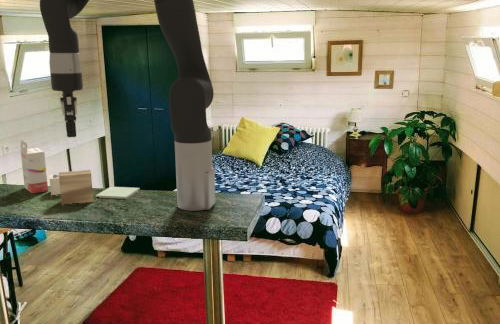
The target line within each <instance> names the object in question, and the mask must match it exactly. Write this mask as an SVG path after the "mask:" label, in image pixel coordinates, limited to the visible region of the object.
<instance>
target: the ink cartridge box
mask: <svg viewBox="0 0 500 324" xmlns="http://www.w3.org/2000/svg"><path fill="white" fill-rule="evenodd" d="M45 155H46V154H45V151H44V150H41V149H40V148H38V147H32V148H28V143H27V142H26V141H25V140H22V139H20V157H21V166H22V176H23V185H24V188H25V189H26V190H27V191H28V192H29V193H30V194H36V193H37V194H38V193H45V192H48V191H49V186H48V185H49V184H48V177H47V175H48V174H47V167H46V166H47V165H46V156H45Z"/></svg>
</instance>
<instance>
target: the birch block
mask: <svg viewBox="0 0 500 324" xmlns="http://www.w3.org/2000/svg"><path fill="white" fill-rule="evenodd" d="M58 174H59V183H60V193H61V195H60V201H61V206H65V205H64V204H70V205H72V204H71V203H79V204H85V203H86V202H87V203H93V202H94V193H93V191H94V189H93V181H92V180H93V179H92V178H93V177H92V171H91V169H85V170H84V169H83V170H72V171H63V172H62V171H61V172H58Z"/></svg>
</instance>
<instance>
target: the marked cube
mask: <svg viewBox="0 0 500 324" xmlns="http://www.w3.org/2000/svg"><path fill="white" fill-rule="evenodd" d="M49 186H50V196H51V197H53V196H52V195H56V196H58V195H57V194H61V193H60V183H59V173H58V174H49Z"/></svg>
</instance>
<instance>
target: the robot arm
mask: <svg viewBox="0 0 500 324" xmlns="http://www.w3.org/2000/svg"><path fill="white" fill-rule="evenodd" d="M89 1H90V0H39V9H40V14H41V18H42V21H43V24H44V27H45V30H46V34H47V36H48V48H49V73H50V85H51V90H52V91H55V92H62V94H61V97H59V101H60V106H61V111H62V115H63V117H64V122H65V130H66V137H67V138H76V137H77V127H76V121H77V114H78V109H77V106H78V99H77V97H76V96H74V92H75V91H77V92H78V91H81V90H83V89H84V85H83V70H82V62H81V61H82V60H81V57H80V45H79V37H78V33H77V31H76V30H74V29H73V27H72V26H71V22H70V19H74V18H75V17H76V16H78V15H79V14H80V13H81V12H82V11H83V10H84V9H85V7H86V6H87V4H88V3H89ZM153 2H154V6H155V7H154V8H155V11H156V12H155V13H156V17H157V21H158V24H159V27H160V30H161V32H162V34H163V37H164V38H165V40H166V41H167V45H168V46H169V48H170V49H171V52H172V54H173V56H174V59H175V63H176V66H177V72H178V78H177V79H175V80H174V81H173V82H172V84H171V86H170V89H169V93H168V101H169V102H168V104H169V105H168V106H169V118H170V119H169V120H170V126H171V131H172V132H173V136H174V153H175V154H174V155H175V158H174V159H175V179H176V181H175V182H176V202H177V207H178V208H179V209H180V210H183V211H188V212H189V211H190V212H192V211H193V212H194V211H204V210H208V211H209V210H211V209H212V207H213V206H214V205H215V204H216V180H215V179H216V177H215V176H216V173H215V172H216V171H215V168H214V167H213V152H212V151H213V149H212V147H213V146H212V145H213V144H212V142H213V141H212V130H211V128H210V127H209V126H208V121H207V109H208V108H209V107H210V106H211V104H212V102H213V100H214V96H215V95H214V87H213V84H212V80H211V77H210V74H209V72H208V71H209V70H208V68H207V64H206V62H205V57H204V53H203V48H202V42H201V36H200V32H199V31H200V30H199V25H198V21H197V20H198V19H197V15H196V8H195V3H194V0H153Z"/></svg>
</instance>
